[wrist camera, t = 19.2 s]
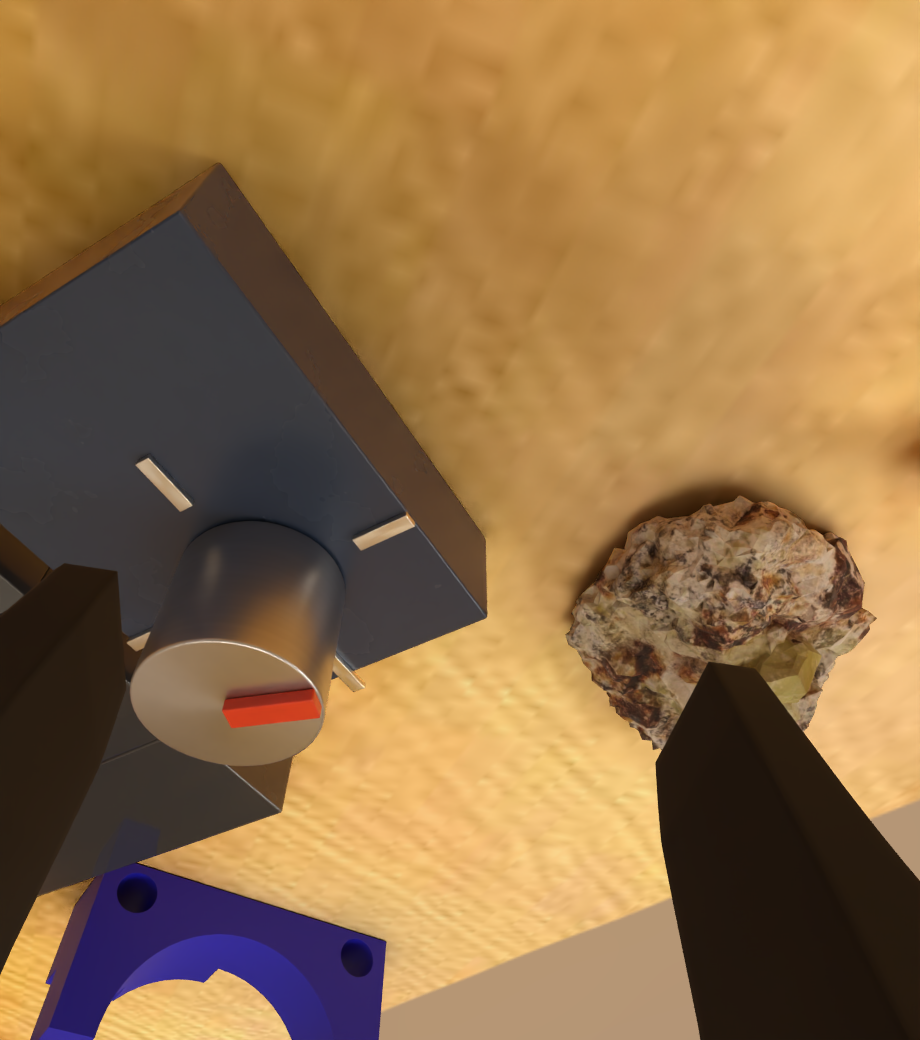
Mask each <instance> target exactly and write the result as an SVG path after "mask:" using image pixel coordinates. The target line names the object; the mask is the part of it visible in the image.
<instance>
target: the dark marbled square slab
mask: <svg viewBox="0 0 920 1040" xmlns="http://www.w3.org/2000/svg"><path fill="white" fill-rule="evenodd" d="M52 571H53V570H52V569H51V568H50V567H48V566H47V565H46V564H45V563H44V562H43V561H42V560H41V559H39V558H38V557H37V556H36V555H35V554H34V553H33V552H31V551H30V550H29V549H28V548H27V547H26V546H25V545H24V544H22V543H21V542H20V541H19V540H18V539H17V538H16V537H15V536H13V535H12V534H11V533H10V532H9V531H8V530H7V529H5V528H4V527H3V526H2V525H1V524H0V615H1V614H3V613H4V612H5V611H6V610H7V609H9V608H10V607H11V606H12V605H13V604H14V603H16V602H17V601H18V600H19V599H20V598H21V597H23V596H24V595H25V594H26V593H27V592H29V591H30V590H31V589H32V588H33V587H34V586H36V585H37V584H38V583H39V582H40V581H41V580H43V579H44V578H45V577H46V576H47V575H49V574H50V573H51V572H52ZM122 637H123V651H124V664H125V677H126V691H125V694H124V697H123V700H122V703H121V706H120V709H119V712H118V715H117V718H116V721H115V724H114V727H113V730H112V733H111V736H110V739H109V741H108V744H107V747H106V750H105V753H104V755H103V758H102V761H101V764H100V767H99V769H98V771H97V773H96V775H95V777H94V780H93V782H92V784H91V786H90V788H89V790H88V792H87V794H86V796H85V799H84V801H83V803H82V805H81V807H80V809H79V811H78V813H77V815H76V817H75V819H74V821H73V824H72V826H71V828H70V830H69V832H68V834H67V836H66V838H65V840H64V842H63V844H62V846H61V848H60V850H59V852H58V854H57V857H56V859H55V861H54V863H53V865H52V867H51V869H50V871H49V873H48V875H47V877H46V879H45V881H44V883H43V885H42V887H41V889H40V891H39V894H38V896H41V895H44V894H47V893H50V892H53V891H55V890H58V889H61V888H64V887H67V886H70V885H73V884H76V883H79V882H81V881H84V880H87V879H90V878H93V877H96V876H99V875H102V874H105V873H107V872H110V871H113V870H116V869H119V868H122V867H125V866H128V865H130V864H133V863H136V862H139V861H142V860H145V859H148V858H151V857H154V856H156V855H159V854H162V853H165V852H168V851H171V850H174V849H177V848H180V847H182V846H185V845H188V844H191V843H194V842H197V841H200V840H203V839H206V838H208V837H211V836H214V835H217V834H220V833H223V832H226V831H229V830H232V829H234V828H237V827H240V826H243V825H246V824H249V823H252V822H255V821H258V820H260V819H263V818H266V817H269V816H272V815H275V814H278V813H281V812H282V808H283V803H284V798H285V793H286V788H287V783H288V778H289V773H290V768H291V763H292V758H293V756H292V757H290V758H287V759H284V760H282V761H278V762H274V763H270V764H264V765H256V766H232V765H223V764H217V763H211V762H207V761H203V760H200V759H197V758H194V757H191V756H188V755H186V754H184V753H181V752H179V751H177V750H175V749H173V748H171V747H170V746H168V745H166V744H165V743H163V742H162V741H160V740H159V739H158V738H156V737H155V736H154V735H153V734H152V733H151V732H150V731H149V730H148V729H147V728H146V727H145V726H144V725H143V724H142V722H141V721H140V720H139V718H138V717H137V715H136V713H135V711H134V709H133V706H132V703H131V698H130V682H131V679H132V675H133V673H134V670H135V668H136V666H137V663H138V661H139V658H140V656H141V654H142V651H143V649H141V650H138V651H135V650H134V649H133V648H132V647H131V646H129V645H128V644H127V643H126V642H127V640H128V638H129V637H128V636H127V635H126V634H124V633H123V632H122ZM38 896H37V897H38Z"/></svg>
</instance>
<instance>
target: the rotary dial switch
mask: <svg viewBox="0 0 920 1040" xmlns="http://www.w3.org/2000/svg"><path fill="white" fill-rule="evenodd" d="M241 521H259V522H268V523H273V524H277V525H281V526H284V527H287V528H291V529H293V530H295V531H297V532H300V533H302V534H304V535H305V536H307V537H309V538H311V539H312V540H313V541H315V542H316V543H318V544H319V545H320V546H321V547H322V548H323V549H324V550H326V551H327V552H328V554H329V555H330V556H331V557H332V558H333V560H334V561H335V563H336V564H337V566H338V568H339V570H340V572H341V574H342V577H343V580H344V584H345V601H344V607H343V613H342V619H341V625H340V631H339V636H338V642H337V648H336V654H335V660H334V666H333V672H332V677H331V680H332V679H334V678H337V677H339V678H340V679H341V680H342V681H343V682H344V683H345V684H346V685H347V686H348V687H349V688H350V689H351V690H352V691H353V692H355V691H358V690H360V689H363V688H365V682H364V681H363V680H362V679H361V678H360V677H359V676H358V675H357V674H356V673H355V672H354V671H355V670H357V669H360V668H362V667H365V666H367V665H370V664H372V663H375V662H377V661H380V660H382V659H385V658H387V657H390V656H392V655H395V654H397V653H400V652H402V651H405V650H407V649H410V648H412V647H415V646H418V645H420V644H423V643H425V642H428V641H430V640H433V639H435V638H438V637H440V636H443V635H445V634H448V633H450V632H453V631H455V630H458V629H460V628H463V627H465V626H468V625H470V624H473V623H475V622H478V621H480V620H483V619H485V618H487V584H486V540H485V538H484V536H483V535H482V533H481V532H480V531H479V529H478V528H477V526H476V525H475V523H474V522H473V521H472V519H471V518H470V516H469V515H468V514H467V512H466V511H465V509H464V508H463V506H462V505H461V504H460V502H459V501H458V499H457V498H456V497H455V495H454V494H453V492H452V491H451V489H450V488H449V487H448V485H447V484H446V482H445V481H444V479H443V478H442V477H441V475H440V474H439V472H438V471H437V470H436V468H435V467H434V465H433V464H432V462H431V461H430V460H429V458H428V457H427V455H426V454H425V452H424V451H423V450H422V448H421V447H420V445H419V444H418V443H417V441H416V440H415V438H414V437H413V435H412V434H411V433H410V431H409V430H408V428H407V427H406V426H405V424H404V423H403V421H402V420H401V418H400V417H399V416H398V414H397V413H396V411H395V410H394V408H393V407H392V406H391V404H390V403H389V401H388V400H387V399H386V397H385V396H384V394H383V393H382V391H381V390H380V389H379V387H378V386H377V384H376V383H375V381H374V380H373V379H372V377H371V376H370V374H369V373H368V372H367V370H366V369H365V367H364V366H363V364H362V363H361V362H360V360H359V359H358V357H357V356H356V355H355V353H354V352H353V350H352V349H351V347H350V346H349V345H348V343H347V342H346V340H345V339H344V337H343V336H342V335H341V333H340V332H339V330H338V329H337V328H336V326H335V325H334V323H333V322H332V320H331V319H330V318H329V316H328V315H327V313H326V312H325V310H324V309H323V308H322V306H321V305H320V303H319V302H318V301H317V299H316V298H315V296H314V295H313V293H312V292H311V291H310V289H309V288H308V286H307V285H306V284H305V282H304V281H303V279H302V278H301V276H300V275H299V274H298V272H297V271H296V269H295V268H294V266H293V265H292V264H291V262H290V261H289V259H288V258H287V257H286V255H285V254H284V252H283V251H282V249H281V248H280V247H279V245H278V244H277V242H276V241H275V240H274V238H273V237H272V235H271V234H270V232H269V231H268V230H267V228H266V227H265V225H264V224H263V222H262V221H261V220H260V218H259V217H258V215H257V214H256V213H255V211H254V210H253V208H252V207H251V205H250V204H249V203H248V201H247V200H246V198H245V197H244V195H243V194H242V193H241V191H240V190H239V188H238V187H237V186H236V184H235V183H234V181H233V180H232V178H231V177H230V176H229V174H228V173H227V171H226V170H225V169H224V167H223V166H222V164H221V163H217V164H215V165H214V166H212V167H211V168H209V169H208V170H206V171H204V172H203V173H201V174H200V175H198V176H197V177H195V178H194V179H192V180H191V181H189V182H188V183H186V184H185V185H183V186H182V187H180V188H179V189H177V190H176V191H174V192H173V193H171V194H170V195H168V196H167V197H165V198H164V199H162V200H160V201H159V202H157V203H156V204H154V205H153V206H151V207H150V208H148V209H147V210H145V211H144V212H142V213H141V214H139V215H138V216H136V217H135V218H133V219H132V220H130V221H129V222H127V223H126V224H124V225H123V226H121V227H119V228H118V229H116V230H115V231H113V232H112V233H110V234H109V235H107V236H106V237H104V238H103V239H101V240H100V241H98V242H97V243H95V244H94V245H92V246H91V247H89V248H88V249H86V250H85V251H83V252H82V253H80V254H78V255H77V256H75V257H74V258H72V259H71V260H69V261H68V262H66V263H65V264H63V265H62V266H60V267H59V268H57V269H56V270H54V271H53V272H51V273H50V274H48V275H47V276H45V277H44V278H42V279H41V280H39V281H38V282H36V283H34V284H33V285H31V286H30V287H28V288H27V289H25V290H24V291H22V292H21V293H19V294H18V295H16V296H15V297H13V298H12V299H10V300H9V301H7V302H6V303H4V304H3V305H1V306H0V524H1V525H2V526H3V527H4V528H5V529H7V530H8V531H9V532H10V533H11V534H12V535H13V536H15V537H16V538H17V539H18V540H19V541H20V542H21V543H22V544H24V545H25V546H26V547H27V548H28V549H29V550H30V551H31V552H33V553H34V554H35V555H36V556H37V557H38V558H39V559H41V560H42V561H43V562H44V563H45V564H46V565H47V566H48V567H50V568H51V569H52V570H55V569H56V568H58V567H59V566H61V565H62V564H64V563H66V564H73V565H80V566H86V567H93V568H99V569H106V570H112V571H118V584H119V598H120V611H121V624H122V632H123V633H124V634H126V635H127V636H128V637H129V638H128V640H127V642H126V643H127V644H128V645H129V646H131V647H132V648H133V649H134V650H135V651H138V650H141V649H144V646H145V644H146V642H147V639H148V637H149V634H150V632H151V629H152V627H153V625H154V622H155V620H156V617H157V615H158V613H159V610H160V608H161V605H162V603H163V601H164V598H165V596H166V593H167V591H168V589H169V586H170V584H171V581H172V579H173V576H174V574H175V572H176V569H177V567H178V564H179V562H180V560H181V557H182V555H183V553H184V551H185V550H186V549H187V547H188V546H189V545H190V543H192V542H193V541H194V540H195V539H196V538H197V537H199V536H200V535H201V534H203V533H204V532H206V531H208V530H210V529H212V528H214V527H217V526H220V525H223V524H228V523H232V522H241Z"/></svg>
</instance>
